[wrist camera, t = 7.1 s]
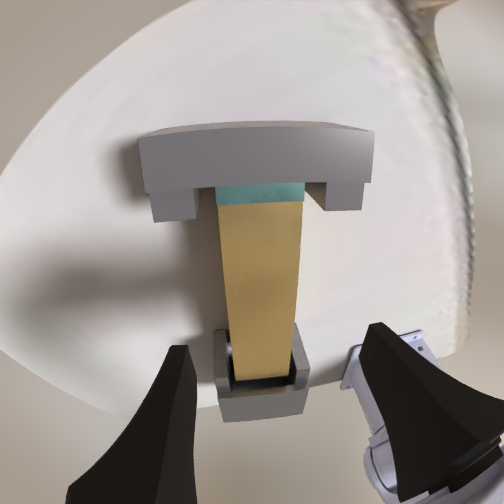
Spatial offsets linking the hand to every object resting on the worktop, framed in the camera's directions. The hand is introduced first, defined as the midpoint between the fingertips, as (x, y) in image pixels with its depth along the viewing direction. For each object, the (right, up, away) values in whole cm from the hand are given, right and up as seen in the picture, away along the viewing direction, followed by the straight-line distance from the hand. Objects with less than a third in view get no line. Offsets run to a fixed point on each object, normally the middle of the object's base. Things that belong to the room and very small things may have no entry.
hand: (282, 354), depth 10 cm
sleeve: (-1, -5, +14) cm, 15 cm away
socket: (-1, +10, +6) cm, 11 cm away
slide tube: (-1, +3, +9) cm, 10 cm away
